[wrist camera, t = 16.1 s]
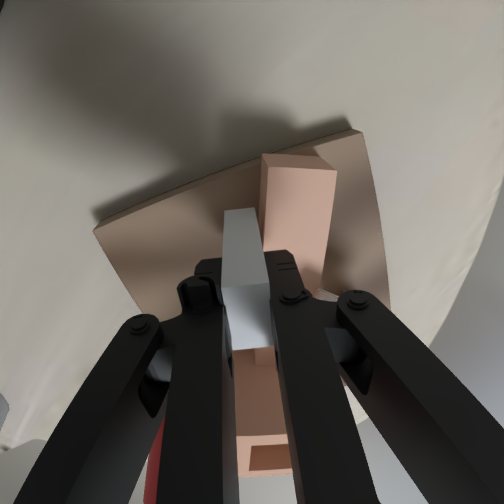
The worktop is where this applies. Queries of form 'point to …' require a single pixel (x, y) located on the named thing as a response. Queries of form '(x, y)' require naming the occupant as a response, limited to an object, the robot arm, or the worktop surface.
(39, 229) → the worktop surface
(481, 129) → the worktop surface
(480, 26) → the worktop surface
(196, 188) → the board
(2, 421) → the cup
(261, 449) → the link
